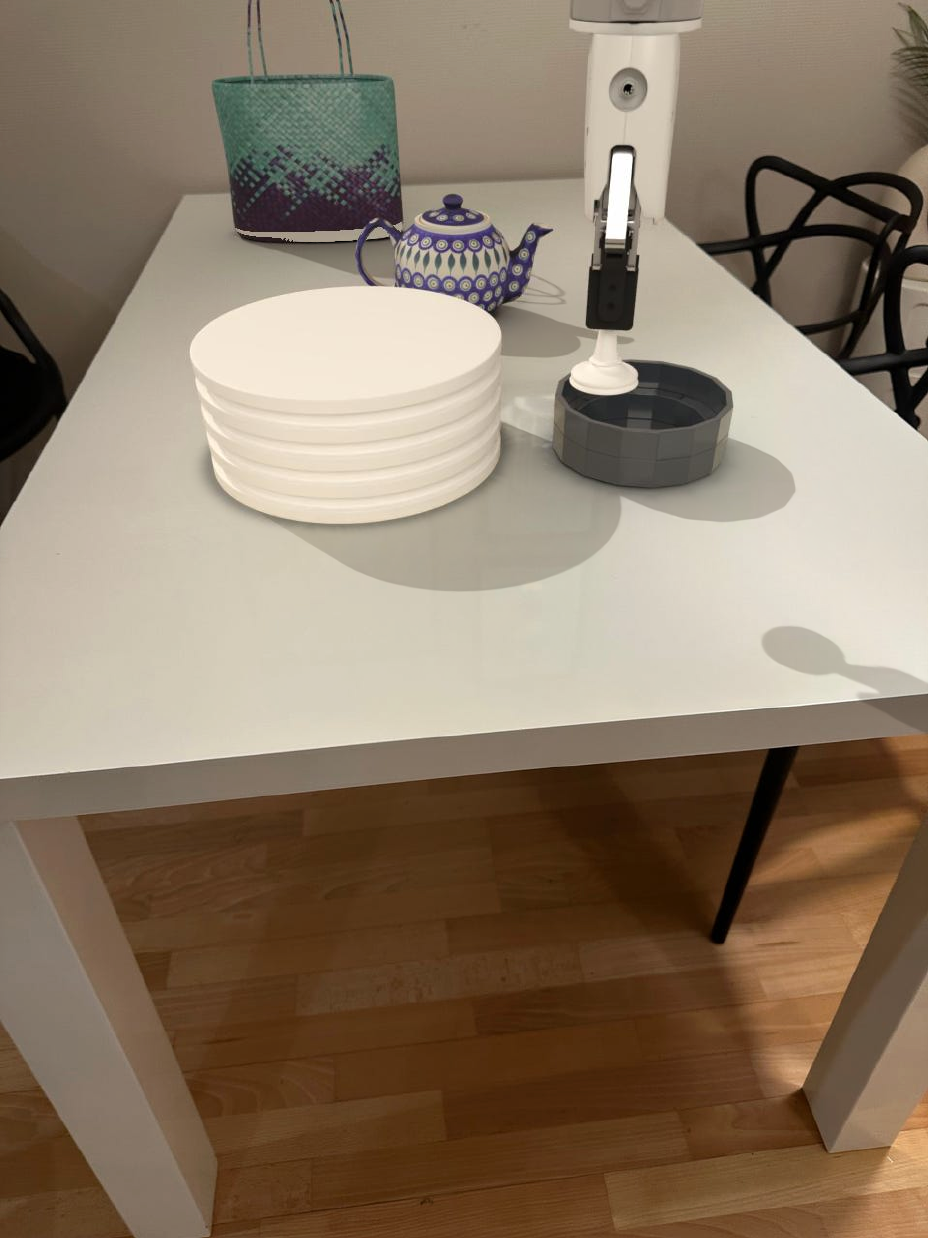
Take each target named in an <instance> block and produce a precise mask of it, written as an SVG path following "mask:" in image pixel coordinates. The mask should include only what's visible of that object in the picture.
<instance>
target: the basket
mask: <svg viewBox="0 0 928 1238" xmlns="http://www.w3.org/2000/svg"><path fill="white" fill-rule="evenodd" d="M252 1H253V0H248V1H247V31H246V33H247V35H246V37H247V38H246V40H247V42H246V43H247V57H248V65H249V75H241V76H230V77H222V78H216V79H213V80H212V82H211V91H212V97H213V103H214V107H215V112H216V117H217V121H218V126H219V131H220V135H221V140H222V145H223V150H224V155H225V160H226V167H227V174H228V182H229V183H228V184H229V190H230V191H229V192H230V202H231V210H232V219H233V220H232V221H233V227H234V229H235V228H237V229H240V230H243V231H250V232H315V231H340V230H354V229H364V228H365V227H366V225H367V224H368V223H369V222H371V221H372V220H374V219H375V218H382V219H385V220H386V221H388V222H389V223H390V224H392V225H396V224H398V223H400V222H402V221H403V222H404V210H403V197H402V183H401V182H402V181H401V169H400V152H399V151H400V150H399V135H398V119H397V117H398V116H397V105H396V104H397V103H396V91H395V83H394V79H393V78H392V77H391V76H387V75H383V74H381V75H380V74H371V73H354V69H353V62H352V52H351V46H350V45H351V43H350V38H349V33H348V29H347V25H346V20H345V17H344V13H343V7H342V6H341V5H342V4H341V1H340V0H335V2H336V4H337V8H338V11H339V15H340V19H341V23H342V28H343V33H344V36H345V37H344V38H345V43H346V50H347V57H348V66H349V73H345V71H344V60H343V59H344V58H343V47H342V39H341V33H340V30H339V29H340V28H339V24H338V19H337V12H336V8H335V3H334V0H329V4H330V6H331V7H330V8H331V12H332V17H333V22H334V28H335V33H336V38H337V44H338V55H339V66H340V67H339V68H340V73H299V74H298V73H296V74H295V73H294V74H268V71H267V66H266V60H265V59H266V58H265V52H264V46H263V40H262V25H261V22H262V21H261V5H260V3H261V0H256V17H257V35H258V36H257V38H258V43H259V49H260V56H261V57H260V58H261V62H262V68H263V74H262V75H261V74H260V75H259V74H258V75H254V67H253V59H252V57H253V56H252V48H251V46H252V45H251V27H252V26H251V25H252V24H251V23H252V22H251V20H252V19H251V18H252V15H251V12H252V10H251V9H252V8H251V7H252ZM236 233H237V234H238V235H239V236H240V237H242V238H245V239H248V240H254V241H257V242H264V241H266V242H265V243H282V242H290V241H289V239H288V240H287V241H286V240H285V239H286V238H284V239H283V240H282V239H281V238H272V237H256V236H249V235H244V234H241V233H239V232H237V231H236ZM291 242H293V240H292V241H291Z"/></svg>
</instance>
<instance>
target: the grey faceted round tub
mask: <svg viewBox="0 0 928 1238" xmlns="http://www.w3.org/2000/svg"><path fill="white" fill-rule="evenodd" d="M622 362H625V363H627V364H629V365H631V366H633V367H634V368H635V369H636V370H637V372H638V378H637V379H638V385H637V387H636V388H634V389H633V390H631V391H629V392H626V393H623V394H617V395H596V394H590V393H586V392H583V391H580V390H578V389H576V388H574V387H573V386H572V385H571V384H570V381H569V379H570V376H571V372H569V373H568V374H566V375H565V376H564V377H562V378H561V379H559V380H558V383H557V386H556V390H555V394H554V406H553V407H554V411H553V428H552V429H553V430H552V448H553V450H554V451H555V453H556V455H557V456H558V458H559V459H560V462H561V463H563V464H564V465H566V466H567V467H569V468H571V469H572V470H574V471H576V472H577V473H579V474H580V475H582V476H584V477H587V478H592V479H594V480H598V481H601V482H605V483H609V484H611V485H612V484H613V485H617V486H627V487H637V488H638V487H639V488H651V489H652V488H660V487H661V488H662V487H669V486H678V485H685V484H688V483H692V482H693V481H696V480H698V479H701V478H704V477H706V476H709V475H711V474H712V473H713V472H714V471H715V470H716V469H717V467H718V466H719V465H720V464H721V463H722V462H723V461H724V460H725V455H726V449H727V444H728V439H729V432H730V428H731V427H730V426H731V423H732V418H733V417H732V416H733V410H734V399H733V392H732V390H731V389H729V387H727V385H725V384H724V383H723V382H722V381H721V380H720V379H719V378H718V377H717V376H713V375H711V374H709V373H706V372H704V371H702V370H699V369H698V368H695V367H692V366H688V365H683V364H678V363H673V362H668V361H664V360H651V359H636V358H635V359H632V358H629V359H622Z"/></svg>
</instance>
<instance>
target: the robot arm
mask: <svg viewBox="0 0 928 1238" xmlns="http://www.w3.org/2000/svg"><path fill="white" fill-rule="evenodd" d="M704 7H705V0H570V2H569V22H568V23H569V25H568V30H570V31H573V32H576V33H582V34H583V33H584V34H589V36H588V51H587V68H586V69H587V71H586V87H585V89H586V92H585V112H584V135H583V138H584V139H583V140H584V141H583V142H584V143H583V191H584V192H583V193H584V195H583V197H584V216H585V218H586V219H587V220H588V222H590V223H592V224H594V227H595V228H594V239H593V240H594V243H593V252H592V253H591V257H590V258H591V259H590V260H591V261H590V265H589V267H588V278H587V279H588V280H587V292H586V293H587V294H586V309H585V311H586V312H585V326H586V328H587V329H589V330H599V329H600V330H617V331H625V332H626V331H630V330H632V329H633V328H634V323H635V322H634V321H635V311H636V310H635V309H636V302H637V292H638V291H637V290H638V283H639V282H638V281H639V273H640V271H639V270H640V267H639V265H640V254H637V253H638V245H639V233H640V228H641V213H642V216H643V219H652V226H657V225H659V224H660V223H661V222H662V221H663V220H664V219H665V214H666V213H665V211H666V203H667V193H668V183H669V173H670V166H671V157H672V149H673V139H674V132H675V131H674V129H675V121H676V112H677V102H678V92H679V81H680V66H681V49H682V48H681V45H682V44H681V43H682V33H689V32H695V31H698V30H701V29H702V21H703V14H704Z"/></svg>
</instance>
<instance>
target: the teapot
mask: <svg viewBox="0 0 928 1238" xmlns="http://www.w3.org/2000/svg"><path fill="white" fill-rule="evenodd" d="M463 203H464V198H463V197H462V196H461V195H459V194H458V193H457V194H456V193H449V194H447V195H445V196H444V197H442V204H443V205H444V206H443V207H438V208H433V209H430V210H429V209H428V210H426V211H424V212H423V213H420V214H417V215H416V216H415V217H414V223H413V224H412V225H410V226H409V227H408V228H406V229H405V231H401V232H400V231H399V230H397V229H396V228H395V227H394V226H393V225H392V224H390V223H389V222H388V221H386V220H385V219H382V218H375V219H374V220H372V221H371V222H369V223H368V224H367V225H366V227H365V228H364V229H363V231H362V232H361V234H360V236H359V238H358V241H356V245H355V246H356V247H355V253H354V255H355V262H356V267H357V270H358V273H359V274H360V276H361V279H363V281H364V282H365V283H366V284H367V286H386V287H401V288H411V289H419V290H425V291H431V292H436V293H441V294H445V295H449V296H452V297H456V298H459V299H462V300H464V301H467V302H469V303H472V304H474V305H476V306H478V307H480V308H481V309H483V310H485V311H486V312H487V313H489V314H490V315H491V313H494V312H495V311H497V310H498V309H500V307H501V306H502V305H505V304H508V303H512V302H514V301H516V300H518V299H519V298H521V296H522V295H523V294H524V292H525V291H526V289H527V287H528V285H529V284H530V283H529V282H530V280H531V276H532V271H533V267H534V266H533V265H534V261H535V255H536V252H537V248H538V245H539V242H540V239H542V238H543V237H545V236H547V235H548V234H550V233H551V232H553V231H554V229H553V227H551V226H550V225H548V224H545V223H542V222H533V223H531V224H530V225H529V226H528V227H527V229H526V230H525V232H524V234H523V236H522V238H521V240H520V243H519V244H518V246H516V247H515V248H514V249H513V250H511V248H510V247H509V244H508V242H507V240H506V238H505V237H504V235H503V234H502V232H501V231H500V230H498V229H497V228H496V227H495V226H494V224H493V223H492V218H491V216H489V215H488V214H487V213H485V212H483V211H480V210H475V209H470V208H465V207H462V205H463ZM377 227H382V228H383V229H385V230H386V231H387V233H388V234H389V237H388V238H389V239H390V243H391V246H392V248H393V250H394V267H393V268H394V277H395V282H394V283H393V284H385V283H382V282H379V281H377V280H376V279H375V278H374V277H373V276H372V275H371V274H370V273H369V272H368V270H367V269H366V266H365V264H364V258H363V249H364V246H365V243H366V242H367V241H366V239H367V237H368V236H369V234H370V233H371V232H372V231H373V230H374V229H375V228H377Z"/></svg>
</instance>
